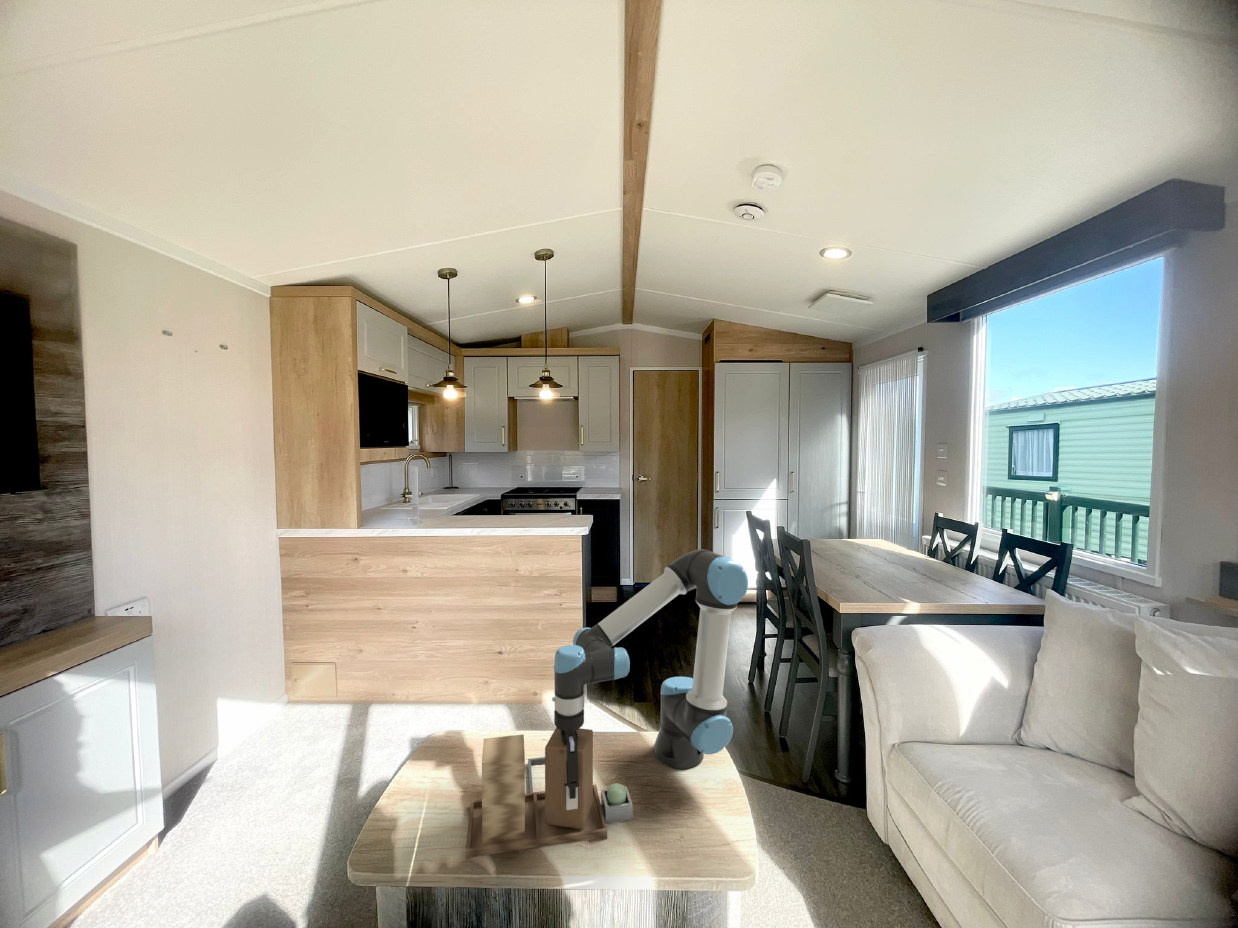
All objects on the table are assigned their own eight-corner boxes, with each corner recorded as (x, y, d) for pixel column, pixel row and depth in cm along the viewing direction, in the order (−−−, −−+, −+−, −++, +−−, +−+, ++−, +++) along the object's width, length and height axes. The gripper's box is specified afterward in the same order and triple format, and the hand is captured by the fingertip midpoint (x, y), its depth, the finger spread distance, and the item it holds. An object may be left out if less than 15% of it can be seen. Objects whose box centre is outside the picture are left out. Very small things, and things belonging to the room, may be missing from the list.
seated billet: (523, 808, 136) (523, 734, 135) (524, 837, 126) (524, 757, 125) (484, 813, 134) (483, 738, 133) (482, 843, 124) (481, 762, 123)
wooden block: (583, 830, 128) (583, 751, 127) (544, 824, 130) (544, 746, 128) (593, 802, 137) (593, 728, 136) (556, 797, 139) (556, 724, 138)
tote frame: (580, 757, 159) (580, 752, 159) (588, 792, 143) (588, 787, 143) (527, 763, 156) (527, 758, 155) (530, 800, 140) (530, 794, 140)
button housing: (626, 800, 140) (626, 786, 140) (632, 819, 134) (632, 804, 133) (600, 803, 139) (600, 789, 139) (605, 823, 132) (605, 807, 132)
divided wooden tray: (595, 791, 144) (595, 784, 144) (607, 838, 127) (607, 830, 127) (471, 808, 137) (470, 800, 137) (465, 860, 120) (465, 851, 120)
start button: (623, 794, 139) (623, 782, 139) (627, 807, 134) (627, 794, 134) (605, 797, 138) (605, 784, 138) (609, 809, 133) (609, 796, 133)
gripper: (550, 687, 143) (550, 762, 144) (558, 737, 119) (558, 827, 121) (577, 684, 145) (577, 759, 146) (591, 734, 121) (590, 823, 122)
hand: (568, 790), depth 133 cm, fingers closed on wooden block, 12 cm apart
